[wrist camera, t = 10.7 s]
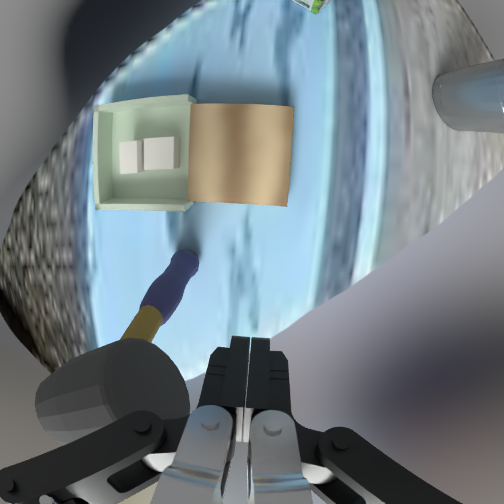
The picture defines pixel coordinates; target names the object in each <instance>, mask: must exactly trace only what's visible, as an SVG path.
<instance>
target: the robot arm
mask: <svg viewBox="0 0 504 504" xmlns="http://www.w3.org/2000/svg"><path fill="white" fill-rule="evenodd" d="M433 100H434V104H435V107H436V109H437V112H438V113H439V115H440V117H441V118H442V120H443V121H444V122H445V123H446V124H447V125H448V126H449V127H451V128H452V129H455V130H457V131H476V132H492V133H504V59H500V60H495V61H491V62H486V63H482V64H478V65H474V66H470V67H466V68H463V69H459V70H455V71H452V72H448V73H445V74H442V75H440V76H439V77H438V78H437V79H436V80H435V82H434V85H433ZM249 348H250V337H242V336H232V339H231V344H230V348H225V347H217V348H216V350H215V351H214V352H213V353H212V354H211V355H210V359H209V363H208V367H207V371H206V375H205V379H204V383H203V387H202V391H201V395H200V399H199V403H198V406H197V408H196V409H195V410H194V411H193V412H192V413H191V414H189V415H188V416H185V417H182V418H178V419H166V420H161V418H160V417H159V416H158V415H156V414H155V413H153V412H150V411H145V410H140V411H135V412H132V413H130V414H128V415H126V416H124V417H122V418H120V419H119V420H117V421H115V422H113V423H111V424H109V425H107V426H105V427H103V428H100V429H98V430H96V431H94V432H92V433H90V434H88V435H86V436H84V437H81V438H79V439H77V440H75V441H73V442H70V443H68V444H66V445H63V446H61V447H59V448H57V449H54V450H52V451H49V452H47V453H44V454H42V455H39V456H37V457H34V458H31V459H29V460H26V461H23V462H21V463H18V464H15V465H12V466H9V467H6V468H3V469H1V470H0V497H1V498H2V499H3V500H4V501H6V502H7V503H9V504H117V503H119V502H121V501H123V500H125V499H127V498H129V497H131V496H132V495H134V494H136V493H138V492H140V491H141V490H143V489H145V488H147V487H148V486H150V485H152V484H154V483H155V482H157V481H158V484H157V487H156V489H155V492H154V495H153V497H152V500H151V503H150V504H223V499H224V495H225V490H226V485H227V481H228V477H229V472H230V467H231V463H232V458H233V456H234V450H235V442H236V441H239V442H241V440H242V429H243V419H244V408H245V397H246V386H247V376H248V387H247V397H246V408H245V423H244V438H243V441H244V442H249V443H248V456H247V486H248V504H313V502H312V495H311V490H312V491H313V492H314V493H315V494H317V495H318V496H319V497H320V498H321V499H322V500H323V501H325V502H326V503H327V504H462V503H460V502H458V501H457V500H455V499H453V498H451V497H450V496H448V495H446V494H445V493H443V492H441V491H440V490H438V489H436V488H435V487H433V486H432V485H430V484H428V483H427V482H425V481H424V480H422V479H421V478H419V477H417V476H416V475H414V474H413V473H411V472H410V471H408V470H407V469H405V468H404V467H403V466H401V465H400V464H398V463H396V462H395V461H394V460H392V459H391V458H389V457H388V456H387V455H385V454H384V453H382V452H381V451H380V450H378V449H377V448H376V447H374V446H373V445H372V444H370V443H369V442H368V441H366V440H365V439H364V438H362V437H361V436H360V435H358V434H357V433H356V432H354V431H353V430H351V429H349V428H346V427H334V428H331V429H328V430H327V431H325V432H320V431H315V430H312V429H308V428H305V427H303V426H301V425H300V424H299V423H297V422H296V420H295V419H294V418H293V416H292V413H291V401H290V384H289V373H288V371H289V370H288V360H287V359H286V357H285V355H284V354H283V352H282V351H270V338H257V337H252V340H251V351H250V364H249V374H248V362H249Z"/></svg>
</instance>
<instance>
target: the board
mask: <svg viewBox="0 0 504 504" xmlns="http://www.w3.org/2000/svg"><path fill="white" fill-rule="evenodd" d="M293 119H294V107H290V106H278V105H263V104H237V103H206V104H191V110H190V129H189V159H188V201H198V202H221V203H240V204H257V205H271V206H285V207H287V202H288V190H289V177H290V164H291V150H292V135H293Z"/></svg>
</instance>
